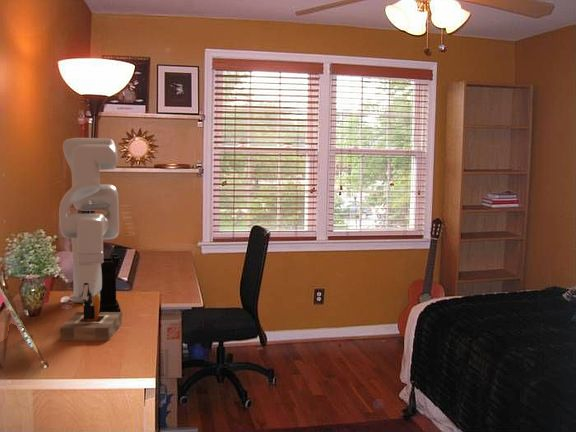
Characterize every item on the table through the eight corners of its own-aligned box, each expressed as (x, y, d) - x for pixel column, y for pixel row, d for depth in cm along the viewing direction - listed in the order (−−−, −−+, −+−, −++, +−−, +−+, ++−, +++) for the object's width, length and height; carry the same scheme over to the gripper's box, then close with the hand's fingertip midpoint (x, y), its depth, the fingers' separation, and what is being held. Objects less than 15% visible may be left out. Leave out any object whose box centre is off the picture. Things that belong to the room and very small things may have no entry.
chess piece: (121, 316, 204) (120, 257, 202) (97, 318, 201) (95, 259, 199) (119, 310, 212) (118, 253, 209) (95, 312, 209) (93, 254, 206)
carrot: (95, 332, 185) (94, 284, 182) (80, 330, 186) (79, 283, 183) (103, 326, 190) (102, 280, 187) (89, 325, 191) (87, 279, 188)
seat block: (77, 324, 195) (77, 311, 195) (121, 324, 196) (121, 311, 195) (60, 340, 179) (60, 326, 179) (108, 340, 180) (108, 326, 179)
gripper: (86, 252, 193) (87, 308, 195) (68, 263, 176) (70, 324, 178) (110, 252, 193) (111, 308, 196) (95, 263, 176) (96, 324, 179)
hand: (92, 315), depth 187 cm, fingers closed on carrot, 4 cm apart
